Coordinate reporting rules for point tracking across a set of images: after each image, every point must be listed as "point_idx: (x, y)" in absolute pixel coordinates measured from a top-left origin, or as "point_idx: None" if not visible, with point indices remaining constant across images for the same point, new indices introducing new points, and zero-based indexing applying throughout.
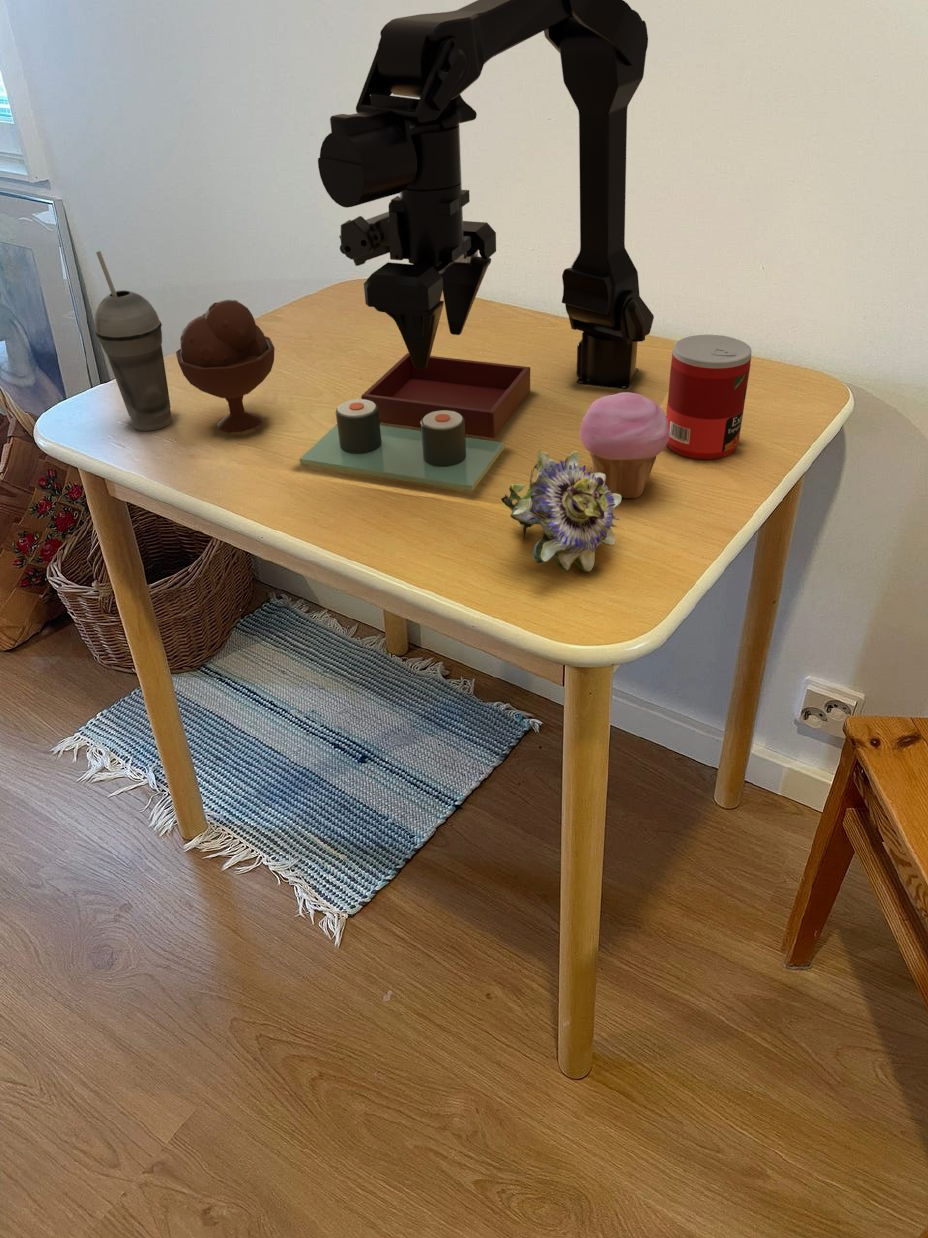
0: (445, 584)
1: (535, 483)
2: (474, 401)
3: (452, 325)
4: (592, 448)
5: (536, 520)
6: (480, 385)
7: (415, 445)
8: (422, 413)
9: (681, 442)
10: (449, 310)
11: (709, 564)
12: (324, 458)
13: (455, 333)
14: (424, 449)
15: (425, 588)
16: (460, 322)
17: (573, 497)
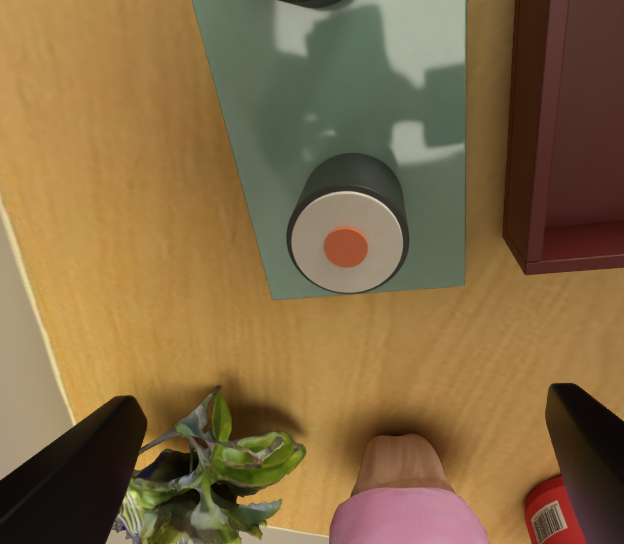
0: (71, 344)
1: (116, 529)
2: None
3: (565, 432)
4: (335, 516)
5: None
6: None
7: (375, 104)
8: (533, 39)
9: (535, 513)
10: (621, 507)
11: (283, 527)
12: None
13: (547, 407)
14: (305, 185)
15: (46, 328)
16: (569, 485)
17: None
